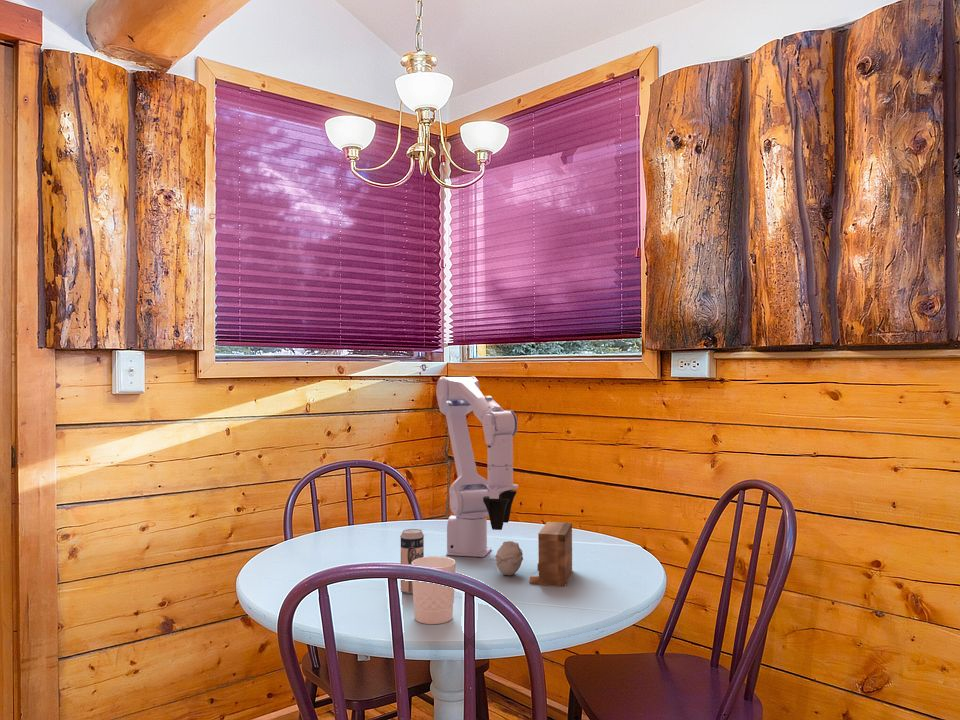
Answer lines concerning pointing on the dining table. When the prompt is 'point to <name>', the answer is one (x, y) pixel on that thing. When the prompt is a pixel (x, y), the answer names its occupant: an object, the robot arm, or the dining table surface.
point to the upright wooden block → (554, 554)
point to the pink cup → (433, 593)
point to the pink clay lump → (509, 558)
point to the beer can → (411, 552)
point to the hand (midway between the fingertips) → (500, 525)
